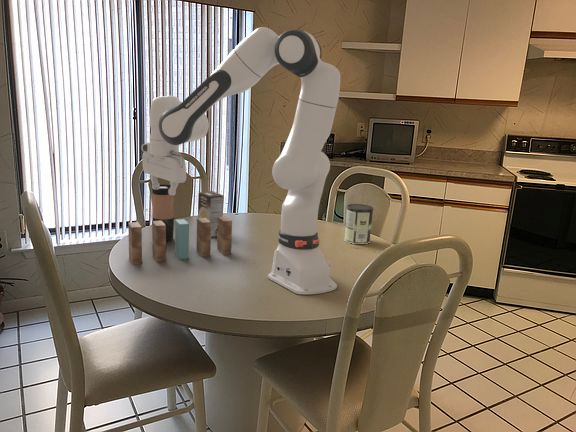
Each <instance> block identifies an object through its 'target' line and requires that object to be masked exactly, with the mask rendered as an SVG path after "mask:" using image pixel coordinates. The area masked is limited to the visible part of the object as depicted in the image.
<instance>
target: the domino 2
mask: <svg viewBox="0 0 576 432" xmlns="http://www.w3.org/2000/svg"><path fill="white" fill-rule="evenodd" d="M174 246H175V247H174V254H175V256H176V257H177V258H178V260H187V259H190V250H189V248H190V223H188V220H186V219H185V218H181V219H174Z"/></svg>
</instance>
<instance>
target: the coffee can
mask: <svg viewBox="0 0 576 432" xmlns="http://www.w3.org/2000/svg"><path fill="white" fill-rule="evenodd" d="M373 211H374V207H373V206H372V205H371V206H370V205H367V204H362V203H361V204H360V203H350V204H347V205H346V216H345V229H344V238H343V241H344V242H345V241H346V242H345V243H347V242H348V244H350V243H352V244H351V245H355V244H366V245H369V244H370V243H371V231H372V222H373V215H374V214H373ZM368 243H369V244H368Z"/></svg>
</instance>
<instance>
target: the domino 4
mask: <svg viewBox="0 0 576 432" xmlns="http://www.w3.org/2000/svg"><path fill="white" fill-rule="evenodd" d="M232 232H233V220H232V219H230V218H229V217H228V216H224V215H223V217H218V235H217V236H216V237H217V239H216V240H217V243H216V244H217V246H216V249H217V251H218V252H219V253H220V254H222V256H224V255H225V256H226V255H232V239H233V238H232V237H233V233H232Z"/></svg>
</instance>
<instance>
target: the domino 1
mask: <svg viewBox="0 0 576 432" xmlns="http://www.w3.org/2000/svg"><path fill="white" fill-rule="evenodd" d="M151 224H152V225H151V227H152V228H151V229H152V232H151V233H152V237H151V238H152V241H151V242H152V243H151V244H152V258H153V259H154V260H155V262H166V261H167V242H166V225H165V224H164V223H163V222H162V221H153V220H152V222H151Z"/></svg>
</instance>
